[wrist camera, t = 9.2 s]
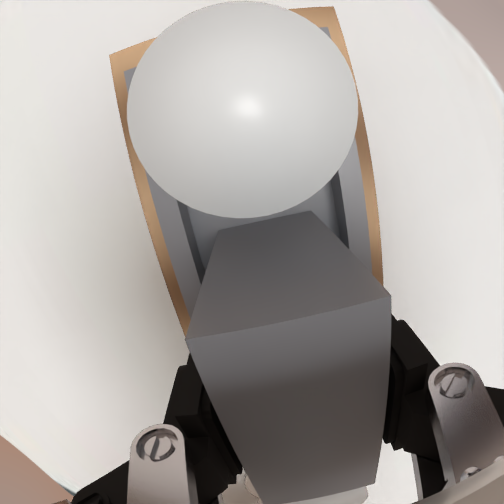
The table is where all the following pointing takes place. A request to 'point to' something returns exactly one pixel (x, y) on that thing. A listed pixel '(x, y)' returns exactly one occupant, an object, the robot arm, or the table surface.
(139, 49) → the curved wooden channel
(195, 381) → the robot arm
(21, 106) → the table surface
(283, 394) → the grey elongated piece
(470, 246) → the table surface
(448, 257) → the table surface
